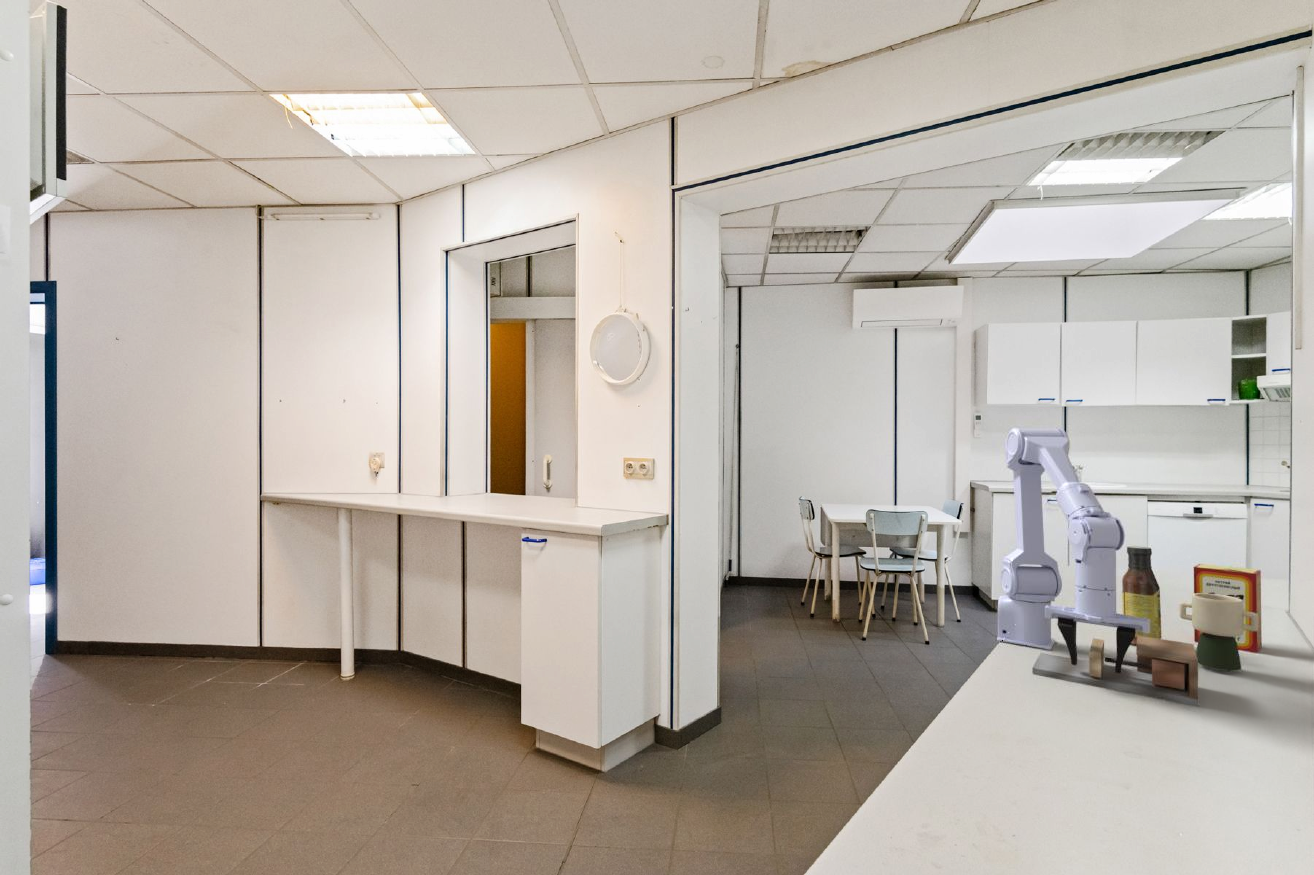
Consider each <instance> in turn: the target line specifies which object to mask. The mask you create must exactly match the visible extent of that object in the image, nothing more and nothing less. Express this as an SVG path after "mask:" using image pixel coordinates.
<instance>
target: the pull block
mask: <svg viewBox="0 0 1314 875" xmlns="http://www.w3.org/2000/svg"><path fill="white" fill-rule="evenodd" d="M1088 656H1089V660H1088V661H1089V676H1094V677H1100V678H1101V675H1102V671H1103V666H1104V664H1105V662H1106V663H1111V664H1116V657H1115V658H1113V657H1109V656H1105V640H1104V639H1099V638H1095V637H1093V638H1092V641H1091V644H1090V648H1089V652H1088ZM1122 666H1128V667H1133V668H1137V667H1138V668H1144V669H1150V670H1151V669H1152V684H1156V685H1161V686H1167V687H1172V688H1177V689H1183V690H1184V663H1183V662H1177V661H1171V660H1165V659H1159V658H1153V657H1152V666H1151V665H1149V664H1144V663H1138V662H1137V661H1130V660H1126V659H1123V662H1122Z"/></svg>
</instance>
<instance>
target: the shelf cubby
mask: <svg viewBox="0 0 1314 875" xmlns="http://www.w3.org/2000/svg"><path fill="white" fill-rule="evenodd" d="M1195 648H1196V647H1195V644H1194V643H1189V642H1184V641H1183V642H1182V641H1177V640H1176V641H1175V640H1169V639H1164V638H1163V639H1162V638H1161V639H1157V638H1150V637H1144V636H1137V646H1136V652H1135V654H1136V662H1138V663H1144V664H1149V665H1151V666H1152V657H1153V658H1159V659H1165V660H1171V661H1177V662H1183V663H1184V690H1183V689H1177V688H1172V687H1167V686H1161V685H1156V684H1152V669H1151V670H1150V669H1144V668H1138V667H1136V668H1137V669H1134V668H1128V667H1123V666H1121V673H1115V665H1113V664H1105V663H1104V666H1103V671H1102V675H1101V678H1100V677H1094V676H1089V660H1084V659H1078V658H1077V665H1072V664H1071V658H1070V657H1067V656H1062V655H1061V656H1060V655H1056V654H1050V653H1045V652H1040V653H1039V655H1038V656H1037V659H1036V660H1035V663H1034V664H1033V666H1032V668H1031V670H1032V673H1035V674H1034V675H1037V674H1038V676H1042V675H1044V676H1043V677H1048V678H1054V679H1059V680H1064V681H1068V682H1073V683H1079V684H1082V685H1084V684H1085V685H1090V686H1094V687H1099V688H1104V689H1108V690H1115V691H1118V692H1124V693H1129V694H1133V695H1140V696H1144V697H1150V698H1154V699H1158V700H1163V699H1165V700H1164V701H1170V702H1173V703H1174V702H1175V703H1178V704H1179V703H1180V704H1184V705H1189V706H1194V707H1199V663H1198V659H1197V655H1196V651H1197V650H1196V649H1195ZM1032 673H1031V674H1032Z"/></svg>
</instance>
